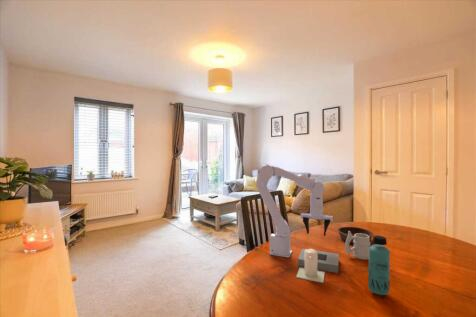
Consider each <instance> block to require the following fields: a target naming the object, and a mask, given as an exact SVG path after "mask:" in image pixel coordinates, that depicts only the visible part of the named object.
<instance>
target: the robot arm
mask: <svg viewBox="0 0 476 317" xmlns="http://www.w3.org/2000/svg"><path fill="white" fill-rule="evenodd" d="M272 177H283V178H285V179H287V180H289V181H293V182H294V183H295V185H296V186H297V187H300V188H301V189H302V188H303V189H304V190H307V191H310V194H309V195H310V198H309V213H300V219H302V222H303V224H304V227H305V230H306V234H307V235H308V234H309V233H310V226H309V225H310V219H312V220H318V221H319V220H320V221H321V220H322V221H323V237H326V235H327V234H326V233H327V230H328V228H329V225H330V223H331V222H333V221H334V220H333V217H334V216H332V215H325V214H323V213H324V211H323V210H324V206H323V204H324V203H323V202H324V201H323V200H324V197H323V196H324V195H323V193H325V192H324V191H325V190H326V189H325V185H324V184H323V182H320V181H318V180H316V178H314V177H313V178H311V177H309V176H307V175H306V174H305V173H303V174H302V173H301V174H300V173H299V174H295V173H292V172H290V171H287V170H286V169H284V168H281V167H278V166H276V165H275V166H274V165H270V164H267V163H263V164H261V165H260V166H259V168H258V169H257V175H256V182H255V186H256V189H257V191H258V192H259V194H260V197H261V199H262V200H263V202H264V205H265V207H266V208H267V210H268V212H269V214H270V216H271V218H272V220H273V222H274V227H275V230H276V231H275V233H271V234H270V237H269V255H270V256H277V257H284V258H290V257H291V255H292V252H293V250H291V231H292V229H291V226H289V224H288V222H287V220H286V219H284V218H283V216H282V214H281V211H280V210H279V208H278V206H277V203H276V202H275V200H274V198H273V196H272V194H271V192H270V189H268V186H267V185H268V183H269V182H270V181H269V180H271V179H272Z"/></svg>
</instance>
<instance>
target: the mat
mask: <svg viewBox="0 0 476 317" xmlns="http://www.w3.org/2000/svg"><path fill="white" fill-rule="evenodd" d="M325 275H326V271H323V270H317V276H316V277H308V276H306V275H305V274H304V267H299V268H298V271H297V274H296V276H295V277H296V278H297V279H302V280H306V281H312V282H317V283H322V284H324V282H325Z"/></svg>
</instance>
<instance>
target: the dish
mask: <svg viewBox="0 0 476 317" xmlns="http://www.w3.org/2000/svg"><path fill="white" fill-rule="evenodd" d="M337 231H338V234H339V236H340V239H342V240H344V241H345V242H346V239H347V236H348V231H350V232H351V234H352V236H354V234H356V233H362V234H366V235H368V236H369V237H370V246H372V245H373V240H371V239H373V236H375V235H374V233H373V232H372V231H371V230H368V229H366V228H361V227H356V226H341V227H339V228H337ZM353 240H354V239H351V241H350V243H351V244H354V242H353ZM350 243H349V244H350Z"/></svg>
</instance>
